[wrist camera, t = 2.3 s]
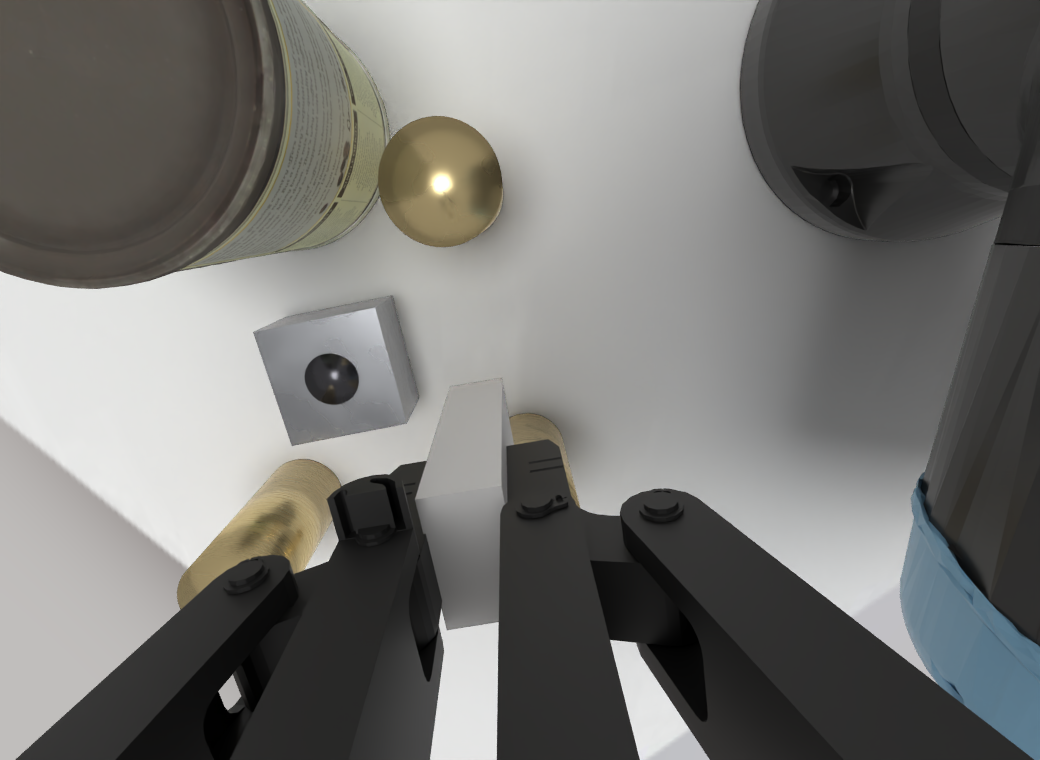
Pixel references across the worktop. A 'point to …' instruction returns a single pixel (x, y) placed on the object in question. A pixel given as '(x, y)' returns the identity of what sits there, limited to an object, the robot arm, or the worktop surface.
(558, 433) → the brass spacer
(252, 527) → the brass spacer
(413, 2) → the worktop surface
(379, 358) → the grey square block
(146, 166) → the coffee can
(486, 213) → the brass spacer
